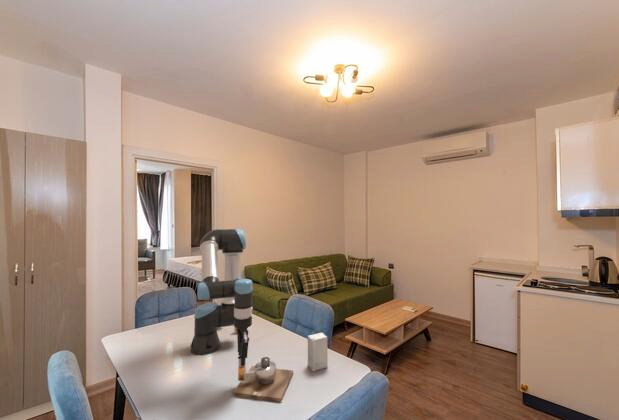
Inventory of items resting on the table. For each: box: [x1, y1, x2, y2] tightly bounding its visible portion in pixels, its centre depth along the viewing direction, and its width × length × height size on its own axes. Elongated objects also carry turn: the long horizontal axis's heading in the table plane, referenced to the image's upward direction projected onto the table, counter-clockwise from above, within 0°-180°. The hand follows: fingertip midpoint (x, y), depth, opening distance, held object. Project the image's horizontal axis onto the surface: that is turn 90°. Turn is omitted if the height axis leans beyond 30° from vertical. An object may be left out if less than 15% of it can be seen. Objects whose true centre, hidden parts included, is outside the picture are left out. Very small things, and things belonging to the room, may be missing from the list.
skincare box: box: [307, 332, 329, 372], centre depth 132 cm, size 8×6×15 cm
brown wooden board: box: [232, 365, 294, 403], centre depth 118 cm, size 20×20×3 cm
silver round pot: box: [237, 356, 277, 382], centre depth 117 cm, size 16×9×7 cm, turn 105°
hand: (241, 372), depth 117 cm, fingers closed
